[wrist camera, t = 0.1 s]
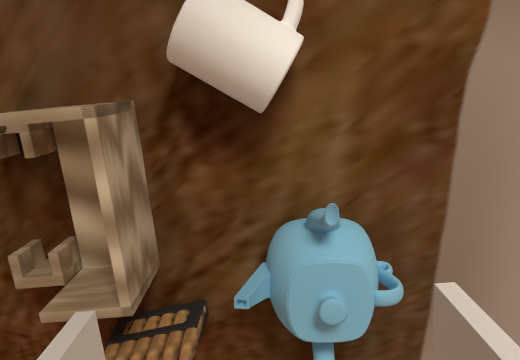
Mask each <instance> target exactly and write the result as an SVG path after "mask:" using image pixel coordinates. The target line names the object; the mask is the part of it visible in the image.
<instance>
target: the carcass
mask: <svg viewBox="0 0 520 360" xmlns="http://www.w3.org/2000/svg"><path fill="white" fill-rule="evenodd" d="M16 133H19V134H20V138H21V143H22V147H23V151H24V155H25V158H36V157H39V156H42V155H45V154H48V153H51V152H54V151H57V150H58V154H59V158H60V163H61V168H62V172H63V177H64V182H65V186H66V191H67V196H68V200H69V205H70V210H71V214H72V219H73V224H74V228H75V233H76V236H73V237H68V238H67V239H65V240H64V241H63V242H62V243H60V244H59V245H58V246H57V247H55V248H54V249H53V250H52V251H50V252H49V253H48V257H49V259H46V257H45V253H44V248H43V244H42V240H41V239H36V240H32V241H30V242H29V243H27V244H26V245H24V246H23V247H21V248H20V249H18V250H17V251H15V252H14V253H12V254H11V255H9V256H8V260H9V264H10V268H11V272H12V275H13V279H14V283H15V287H16V289H23V288H35V287H48V286H61V285H65V284H66V283H67V282H68V281H69V280H70V279H71V278H72V277H73V276H74V275H75V274H76V273H77V272H78V271H79V270H80V269H81V268H82V267H83V268H82V269H81V270H80V271H79V272H78V273H77V274H76V275H75V277H74V278H73V279H72V280H71V281H70V282H69V283H68V284H67V285H66V286H65V287H64V288H63V289H62V290H61V291H60V292H59V293H58V294H57V295H56V296H55V297H54V298H53V299H52V300H51V301H50V302H49V303H48V304H47V305H46V306H45V308H44V309H43V310H42V311H41V312H40V313H39V316H40V320H41V323H48V322H61V321H69V320H70V318H71V317H72V316H73V315H74V313H75V312H82V311H95V312H96V317H97V319H100V318H113V317H126V316H133V315H134V313H135V311H136V309H137V308H138V306H139V304H140V302H141V300H142V298H143V297H144V295H145V293H146V291H147V289H148V287H149V286H150V284H151V282H152V280H153V278H154V277H155V275H156V273H157V271H158V269H159V267H160V261H159V255H158V248H157V242H156V236H155V230H154V223H153V217H152V211H151V205H150V199H149V192H148V186H147V180H146V174H145V168H144V161H143V155H142V149H141V143H140V136H139V130H138V124H137V118H136V112H135V105H134V101H123V102H112V103H100V104H89V105H77V106H66V107H54V108H45V109H35V110H26V111H17V112H7V113H0V159H2V158H6V157H9V156H13V155H16V154H20V153H21V152H20V148H19V143H18V139H17V135H16Z"/></svg>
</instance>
